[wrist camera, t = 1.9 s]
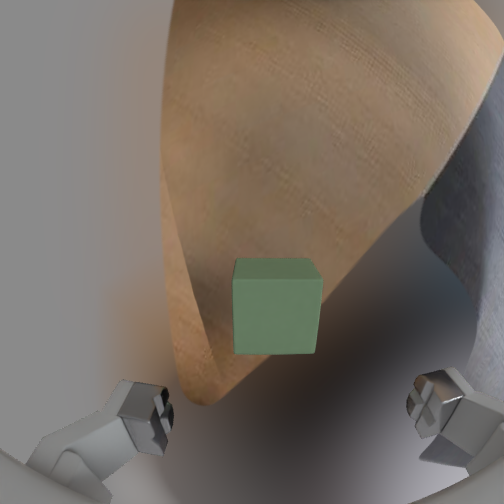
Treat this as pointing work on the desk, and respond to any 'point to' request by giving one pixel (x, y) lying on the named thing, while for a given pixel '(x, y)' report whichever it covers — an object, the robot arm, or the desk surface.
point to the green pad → (275, 305)
